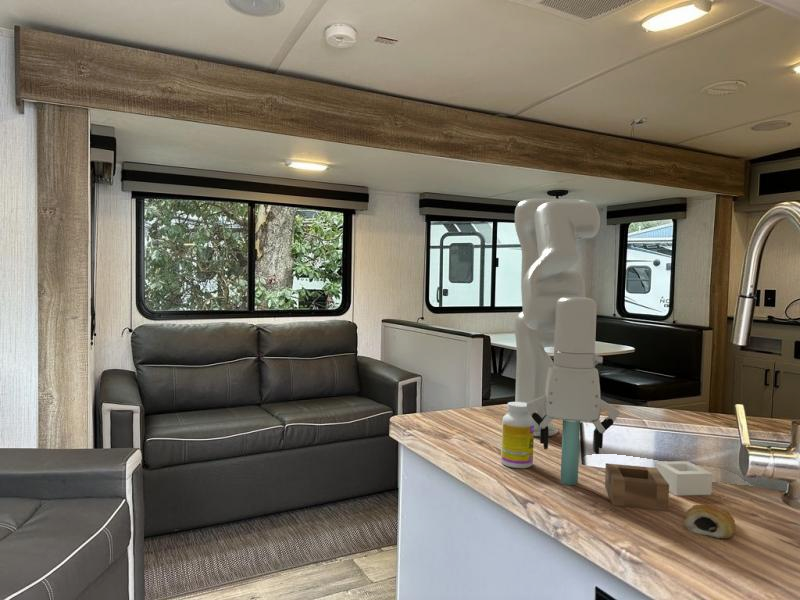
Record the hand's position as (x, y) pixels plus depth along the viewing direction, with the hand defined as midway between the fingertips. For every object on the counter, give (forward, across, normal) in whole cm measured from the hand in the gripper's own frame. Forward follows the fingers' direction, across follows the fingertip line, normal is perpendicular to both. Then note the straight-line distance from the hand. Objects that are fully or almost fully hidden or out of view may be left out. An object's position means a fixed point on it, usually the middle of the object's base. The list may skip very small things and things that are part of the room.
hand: (570, 449), depth 107 cm
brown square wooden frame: (+6, -11, +5) cm, 14 cm away
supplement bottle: (+7, +10, -8) cm, 14 cm away
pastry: (+7, -20, +15) cm, 26 cm away
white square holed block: (+6, -21, -3) cm, 22 cm away
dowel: (+6, 0, 0) cm, 6 cm away
